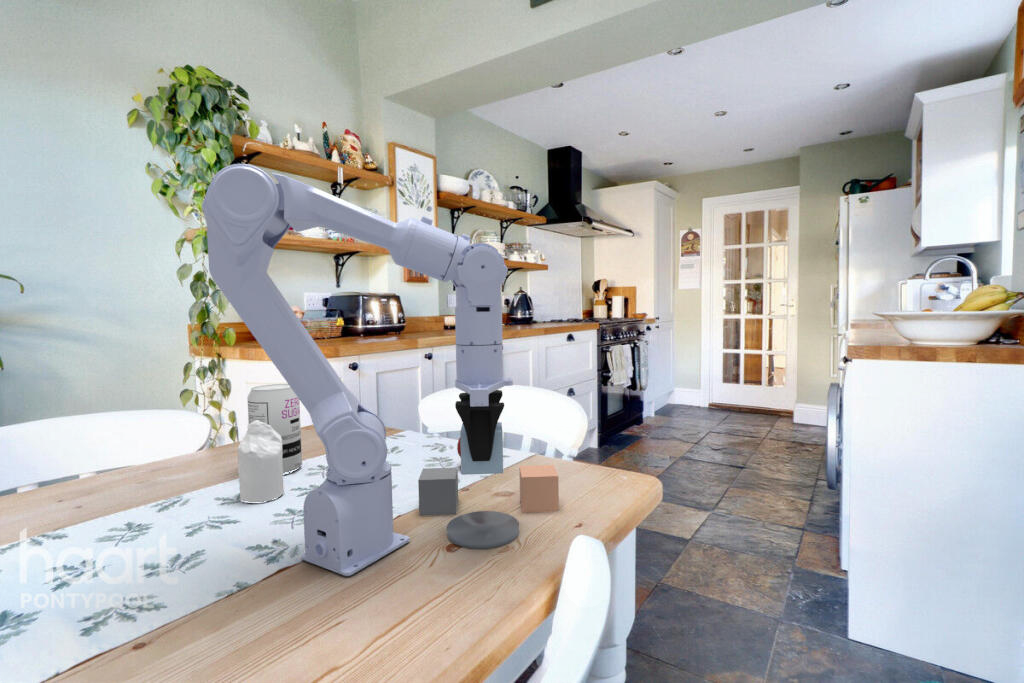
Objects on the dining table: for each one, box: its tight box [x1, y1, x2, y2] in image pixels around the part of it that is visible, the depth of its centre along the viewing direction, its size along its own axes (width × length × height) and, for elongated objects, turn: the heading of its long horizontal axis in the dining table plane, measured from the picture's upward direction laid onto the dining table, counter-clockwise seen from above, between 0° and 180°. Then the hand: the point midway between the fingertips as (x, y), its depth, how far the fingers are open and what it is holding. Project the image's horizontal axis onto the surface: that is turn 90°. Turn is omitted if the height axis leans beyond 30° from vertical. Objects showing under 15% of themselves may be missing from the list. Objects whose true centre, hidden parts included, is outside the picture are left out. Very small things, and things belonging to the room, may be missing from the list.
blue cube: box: [459, 421, 504, 476], centre depth 61 cm, size 5×5×5 cm
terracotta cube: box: [519, 464, 560, 513], centre depth 70 cm, size 5×5×5 cm
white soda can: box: [247, 383, 303, 473], centre depth 87 cm, size 8×8×15 cm
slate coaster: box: [446, 510, 520, 550], centre depth 62 cm, size 9×9×1 cm
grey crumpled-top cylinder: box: [237, 420, 285, 502], centre depth 75 cm, size 6×12×6 cm
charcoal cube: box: [417, 467, 459, 517], centre depth 70 cm, size 5×5×5 cm
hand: (481, 453), depth 61 cm, fingers closed on blue cube, 5 cm apart
